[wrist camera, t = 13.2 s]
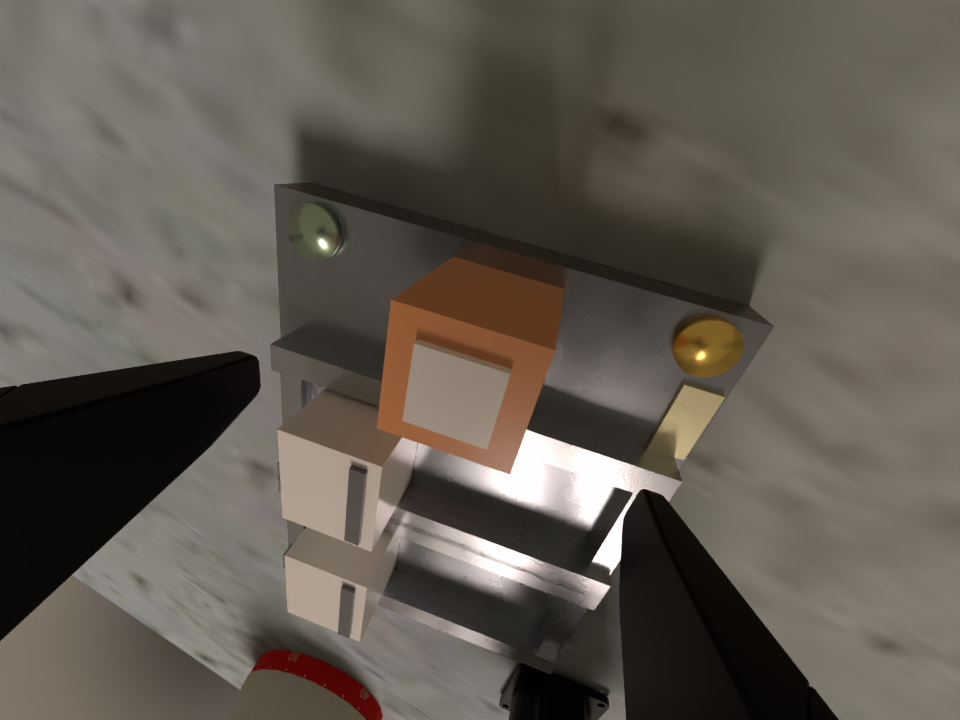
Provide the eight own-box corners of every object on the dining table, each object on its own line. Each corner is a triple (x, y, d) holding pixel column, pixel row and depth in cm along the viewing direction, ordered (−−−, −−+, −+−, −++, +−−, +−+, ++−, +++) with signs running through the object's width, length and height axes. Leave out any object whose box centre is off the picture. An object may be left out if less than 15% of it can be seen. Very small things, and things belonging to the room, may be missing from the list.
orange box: (531, 385, 15) (508, 481, 10) (435, 354, 15) (372, 433, 11) (564, 288, 13) (554, 354, 8) (453, 256, 13) (386, 302, 9)
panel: (561, 613, 24) (558, 678, 21) (309, 517, 26) (272, 564, 23) (749, 306, 14) (797, 345, 11) (308, 182, 15) (241, 186, 12)
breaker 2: (394, 568, 22) (357, 646, 19) (332, 544, 23) (285, 615, 19) (404, 515, 20) (364, 592, 16) (335, 489, 20) (281, 559, 17)
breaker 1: (410, 480, 19) (368, 556, 15) (336, 454, 19) (279, 521, 16) (424, 403, 16) (379, 471, 13) (340, 375, 17) (273, 432, 13)
